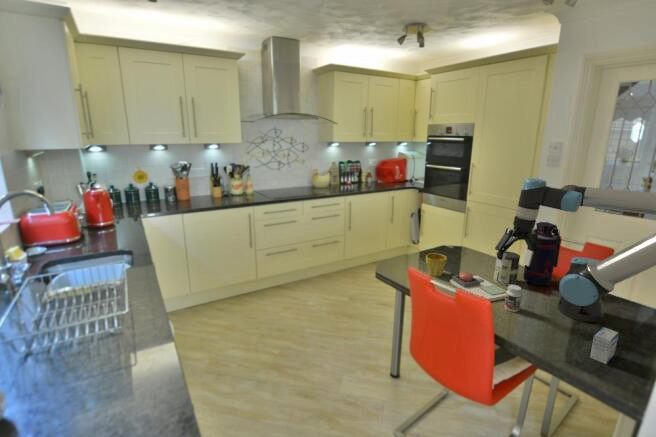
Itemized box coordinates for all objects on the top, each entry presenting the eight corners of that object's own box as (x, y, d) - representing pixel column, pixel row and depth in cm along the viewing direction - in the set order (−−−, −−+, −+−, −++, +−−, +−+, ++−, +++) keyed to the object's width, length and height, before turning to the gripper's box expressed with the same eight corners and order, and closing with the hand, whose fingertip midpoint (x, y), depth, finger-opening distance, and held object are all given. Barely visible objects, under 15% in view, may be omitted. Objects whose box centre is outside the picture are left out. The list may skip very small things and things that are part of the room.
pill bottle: (501, 307, 143) (503, 285, 141) (509, 304, 146) (512, 283, 144) (513, 313, 139) (516, 291, 136) (522, 310, 141) (525, 288, 139)
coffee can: (512, 277, 173) (516, 251, 170) (519, 286, 163) (523, 258, 160) (490, 276, 175) (494, 250, 172) (496, 284, 165) (499, 257, 162)
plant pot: (425, 277, 173) (427, 259, 171) (423, 269, 183) (425, 252, 181) (446, 279, 172) (448, 260, 169) (443, 271, 182) (445, 253, 179)
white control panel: (511, 297, 152) (512, 290, 151) (482, 302, 147) (483, 295, 146) (476, 278, 172) (477, 271, 172) (449, 282, 168) (450, 275, 167)
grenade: (532, 287, 162) (541, 227, 155) (517, 277, 174) (525, 220, 166) (560, 287, 162) (571, 226, 155) (544, 276, 174) (553, 220, 167)
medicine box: (606, 365, 108) (611, 341, 106) (589, 357, 111) (594, 334, 109) (614, 355, 112) (619, 332, 110) (597, 349, 116) (602, 326, 114)
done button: (475, 281, 162) (475, 276, 161) (464, 282, 160) (465, 277, 160) (466, 276, 167) (467, 271, 167) (456, 277, 166) (457, 273, 165)
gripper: (542, 214, 142) (530, 260, 148) (492, 214, 135) (481, 263, 142) (558, 219, 135) (544, 268, 141) (506, 220, 128) (494, 271, 135)
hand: (512, 265), depth 142 cm, fingers open, 13 cm apart
